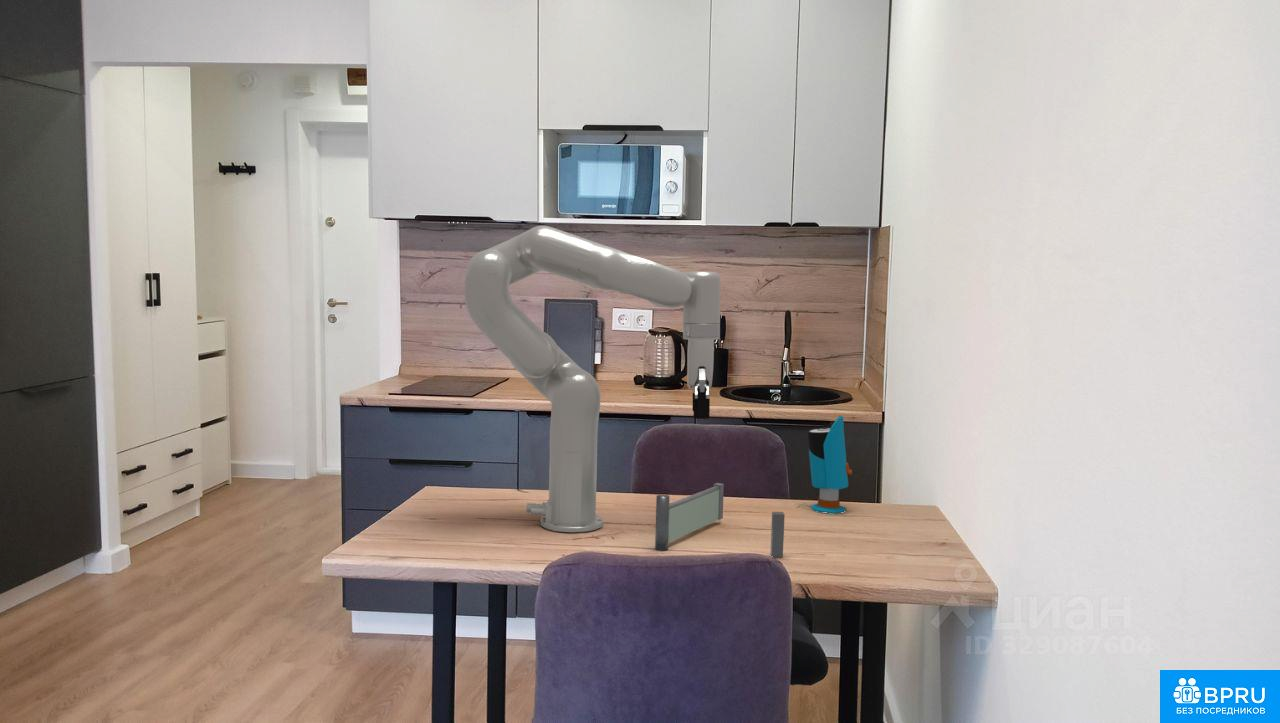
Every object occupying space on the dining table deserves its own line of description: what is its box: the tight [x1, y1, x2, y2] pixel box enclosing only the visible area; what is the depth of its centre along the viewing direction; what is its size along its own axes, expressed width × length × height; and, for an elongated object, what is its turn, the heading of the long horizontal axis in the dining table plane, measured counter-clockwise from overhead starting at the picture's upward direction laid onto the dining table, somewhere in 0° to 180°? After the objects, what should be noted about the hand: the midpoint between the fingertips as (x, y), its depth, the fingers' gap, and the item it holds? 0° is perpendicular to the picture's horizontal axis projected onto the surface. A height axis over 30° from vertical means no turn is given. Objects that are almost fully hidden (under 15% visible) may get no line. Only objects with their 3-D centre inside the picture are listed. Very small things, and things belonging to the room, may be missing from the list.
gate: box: [668, 482, 725, 544], centre depth 182 cm, size 23×2×7 cm, turn 149°
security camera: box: [807, 415, 853, 513], centre depth 205 cm, size 8×21×10 cm
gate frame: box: [654, 494, 785, 559], centre depth 170 cm, size 23×2×10 cm, turn 83°
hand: (700, 414), depth 190 cm, fingers open, 9 cm apart
